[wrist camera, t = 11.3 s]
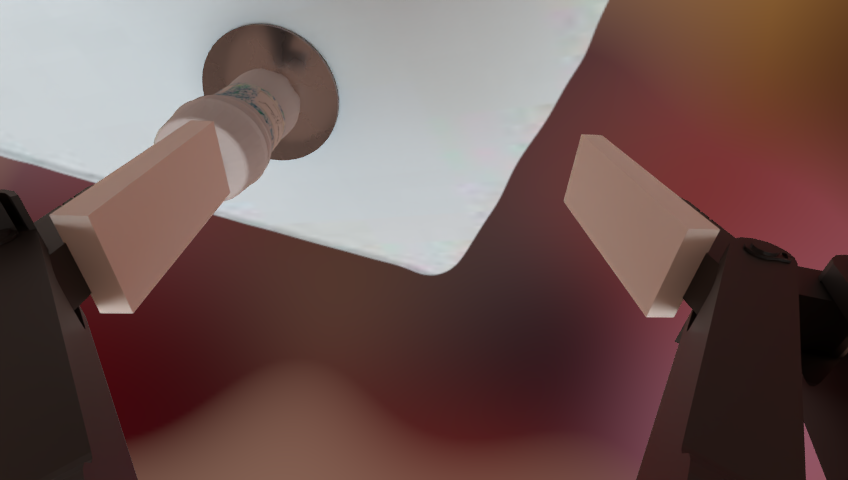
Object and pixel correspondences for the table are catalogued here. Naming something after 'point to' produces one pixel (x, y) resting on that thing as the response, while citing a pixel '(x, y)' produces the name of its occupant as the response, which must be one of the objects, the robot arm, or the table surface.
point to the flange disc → (289, 59)
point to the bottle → (244, 122)
